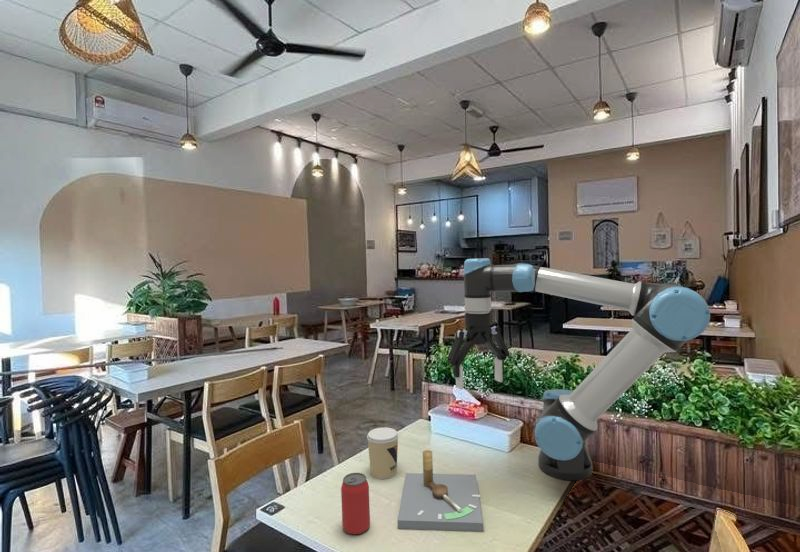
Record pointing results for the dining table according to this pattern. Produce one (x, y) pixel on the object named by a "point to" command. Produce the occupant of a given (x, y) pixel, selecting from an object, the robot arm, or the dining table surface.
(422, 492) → the board
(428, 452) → the peg dial
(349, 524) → the beer can
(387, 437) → the coffee cup
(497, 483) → the dining table surface
